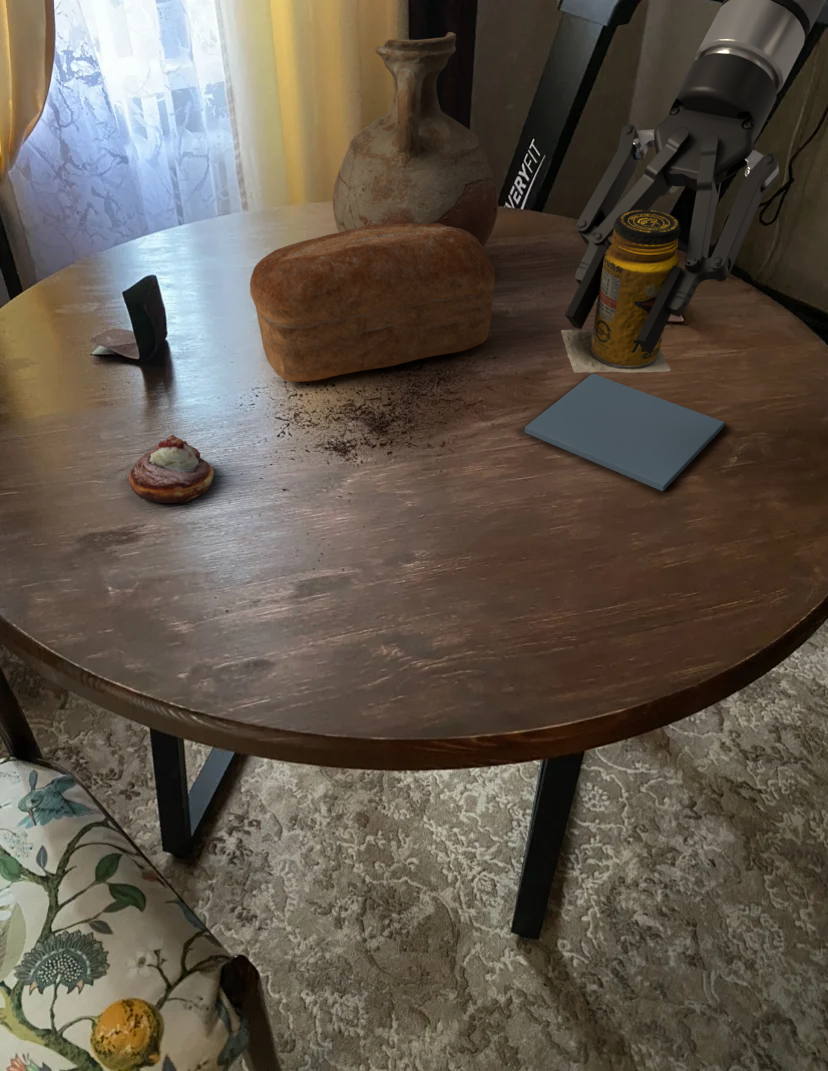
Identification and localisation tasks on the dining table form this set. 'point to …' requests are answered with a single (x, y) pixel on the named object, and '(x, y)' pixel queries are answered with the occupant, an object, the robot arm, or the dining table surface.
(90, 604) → the dining table surface
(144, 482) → the pastry
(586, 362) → the condiment
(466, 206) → the jug
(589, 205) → the robot arm
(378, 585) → the dining table surface
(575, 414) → the sauce mat
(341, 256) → the bread
